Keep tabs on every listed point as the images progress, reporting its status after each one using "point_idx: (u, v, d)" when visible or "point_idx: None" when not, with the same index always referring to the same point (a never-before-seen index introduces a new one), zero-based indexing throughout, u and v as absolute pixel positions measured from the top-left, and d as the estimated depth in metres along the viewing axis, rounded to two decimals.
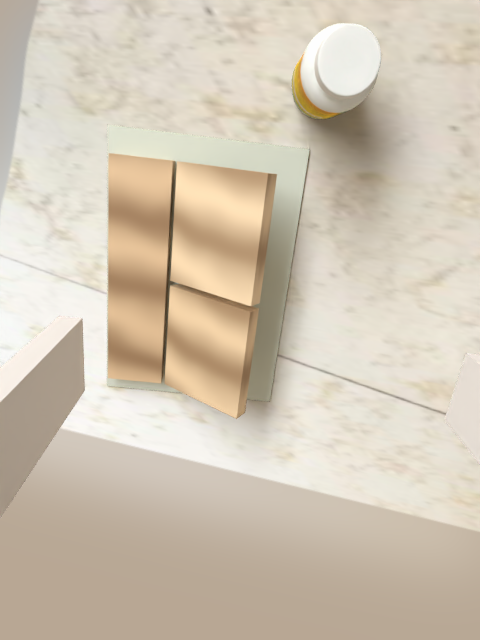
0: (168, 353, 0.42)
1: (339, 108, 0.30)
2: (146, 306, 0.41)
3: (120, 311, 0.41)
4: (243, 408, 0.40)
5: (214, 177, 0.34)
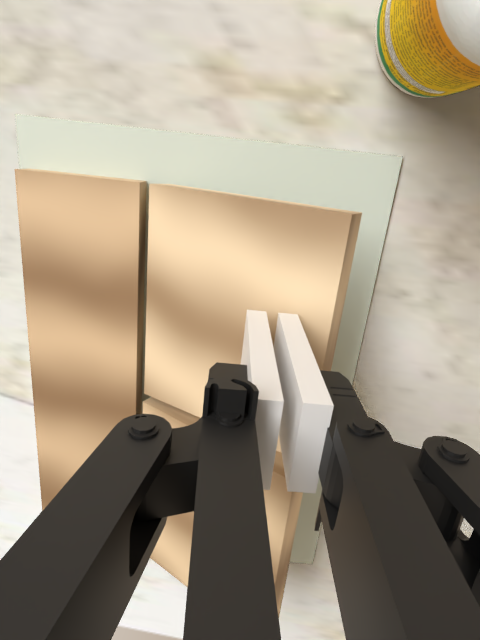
0: None
1: None
2: (103, 434, 0.23)
3: (58, 442, 0.23)
4: None
5: (227, 217, 0.17)
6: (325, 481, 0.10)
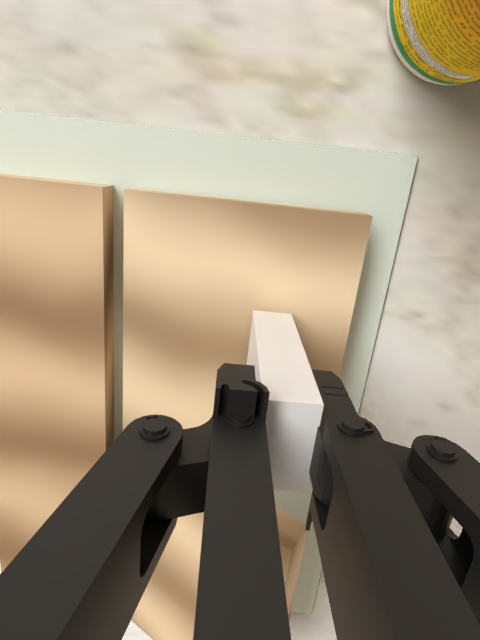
0: None
1: None
2: (68, 479, 0.20)
3: (15, 489, 0.20)
4: None
5: (234, 225, 0.16)
6: (315, 481, 0.10)
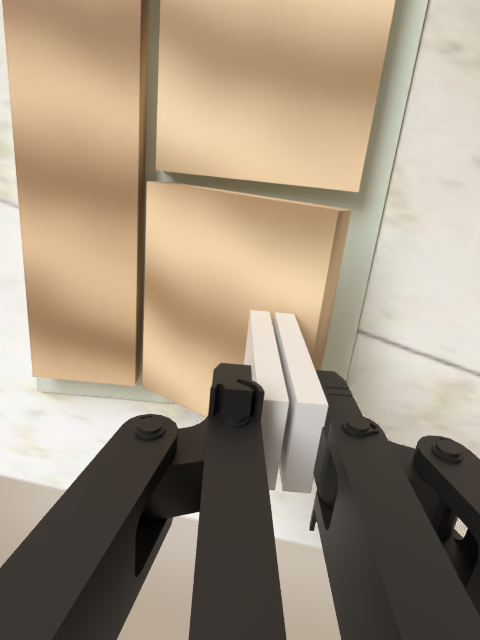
0: (148, 326, 0.21)
1: None
2: (99, 228, 0.20)
3: (46, 240, 0.20)
4: None
5: None
6: (320, 481, 0.10)
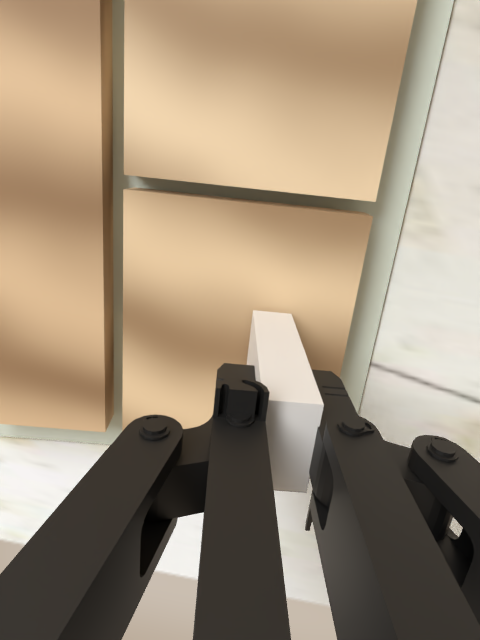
0: (129, 363, 0.18)
1: None
2: (56, 246, 0.16)
3: None
4: None
5: None
6: (315, 481, 0.10)
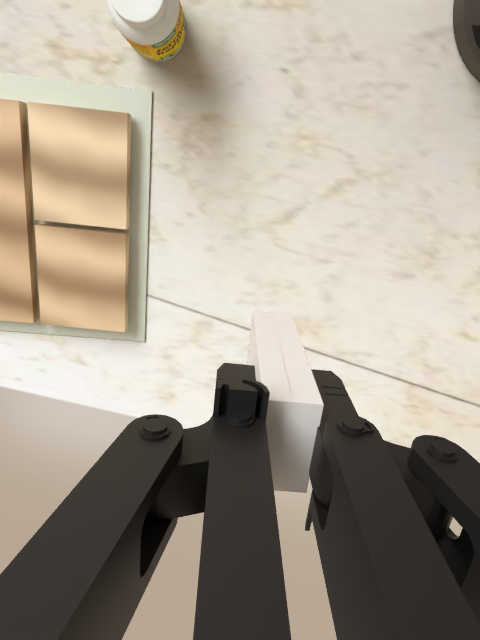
0: (41, 292, 0.44)
1: (146, 39, 0.32)
2: (10, 245, 0.43)
3: None
4: (127, 323, 0.46)
5: (73, 117, 0.39)
6: (315, 481, 0.10)
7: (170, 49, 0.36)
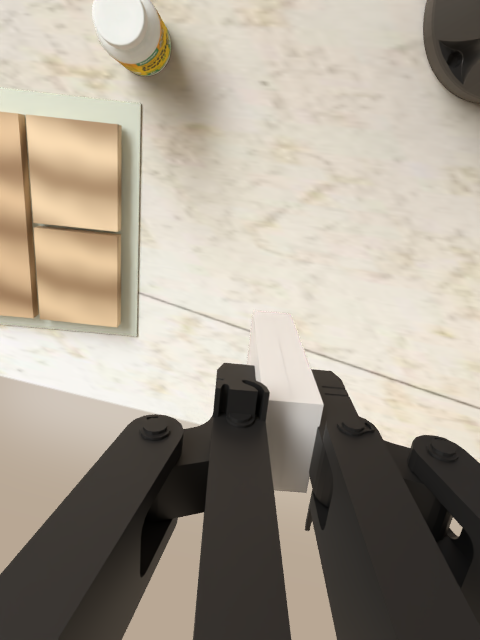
0: (40, 289, 0.48)
1: (130, 59, 0.35)
2: (11, 246, 0.46)
3: None
4: (120, 319, 0.50)
5: (67, 128, 0.42)
6: (315, 481, 0.10)
7: (155, 65, 0.39)
